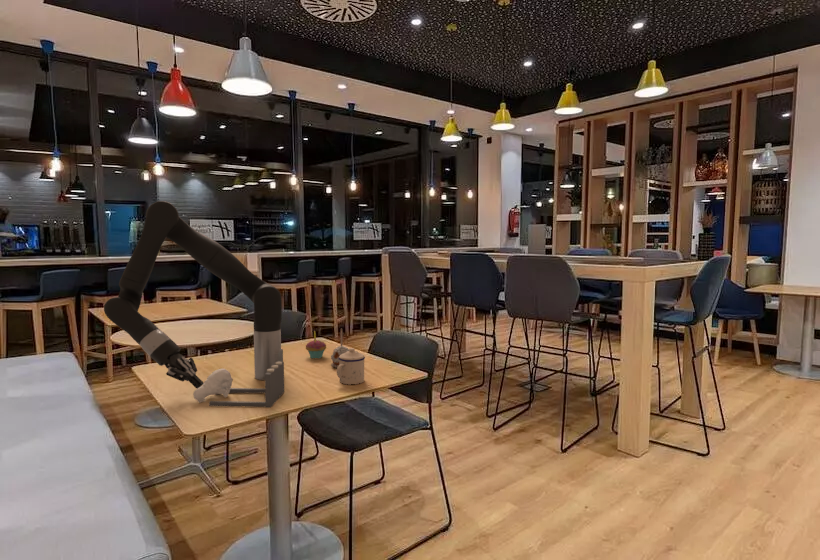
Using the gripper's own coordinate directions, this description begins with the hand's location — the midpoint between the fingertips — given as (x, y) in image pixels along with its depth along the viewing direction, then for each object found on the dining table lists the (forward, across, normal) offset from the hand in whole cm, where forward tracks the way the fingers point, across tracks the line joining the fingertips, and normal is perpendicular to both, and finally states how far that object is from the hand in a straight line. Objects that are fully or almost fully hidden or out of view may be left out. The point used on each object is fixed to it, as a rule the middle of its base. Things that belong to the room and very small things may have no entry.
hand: (200, 386), depth 143 cm
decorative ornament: (+30, +38, -23) cm, 53 cm away
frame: (+13, 0, -8) cm, 15 cm away
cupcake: (+20, +51, -14) cm, 57 cm away
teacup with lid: (+34, +18, -28) cm, 47 cm away
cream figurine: (+5, 0, 0) cm, 5 cm away
